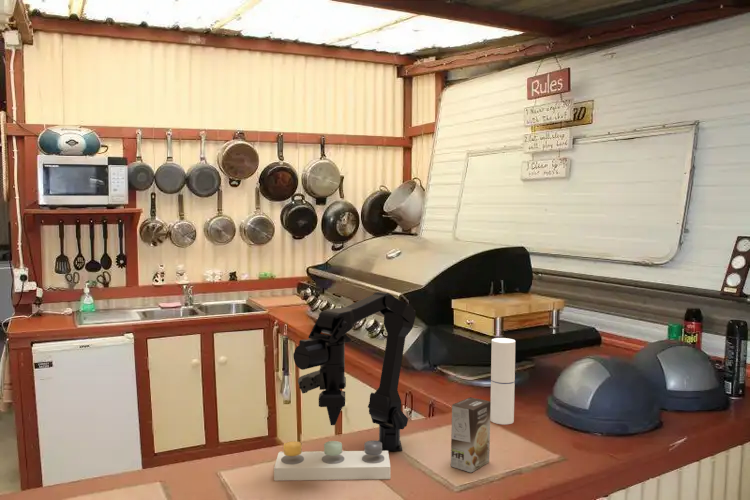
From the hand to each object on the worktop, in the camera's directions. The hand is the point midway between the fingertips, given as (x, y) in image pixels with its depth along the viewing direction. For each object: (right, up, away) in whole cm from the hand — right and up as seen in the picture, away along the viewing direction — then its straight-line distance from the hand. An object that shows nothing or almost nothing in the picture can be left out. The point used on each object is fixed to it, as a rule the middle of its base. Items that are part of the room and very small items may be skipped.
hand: (333, 423), depth 153 cm
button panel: (0, -12, +1) cm, 12 cm away
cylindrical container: (+50, -10, +38) cm, 63 cm away
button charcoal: (+10, -8, +1) cm, 13 cm away
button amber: (-10, -8, 0) cm, 13 cm away
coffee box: (+35, -12, +5) cm, 37 cm away
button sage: (0, -8, +1) cm, 8 cm away
